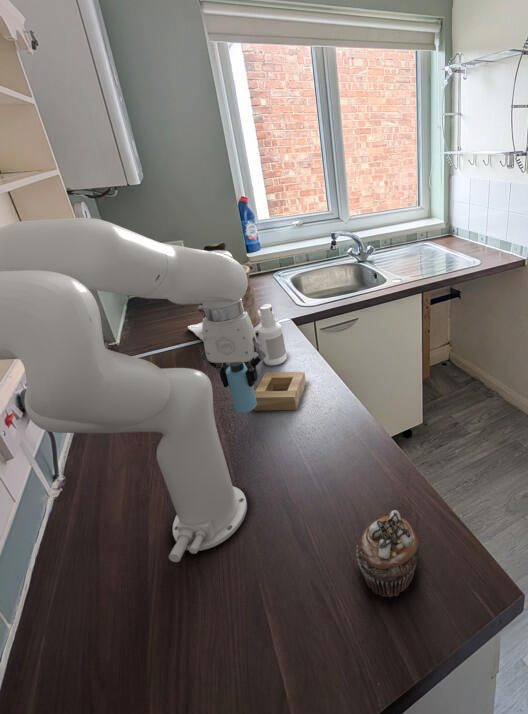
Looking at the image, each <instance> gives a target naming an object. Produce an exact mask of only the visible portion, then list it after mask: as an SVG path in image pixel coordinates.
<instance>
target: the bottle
mask: <svg viewBox="0 0 528 714" xmlns="http://www.w3.org/2000/svg"><path fill="white" fill-rule="evenodd" d="M229 366H230V367H228V368H227V369H226V376H227V380H228V384H229V385H228V388H229V393H230V398H231V401H232V405H233V406H232V407H233V409H234V411H235V412H236V413H237V414H238V413H239V414H245V413H248V412H249V413H250V412H251V411H253V410H254V408H255V407H256V405H257V401H256V396H255V388H254V385H253V386H252V387H250V386H249V385H248V380H247V375H246V371H247V370H248V369H247V367H246V365H245V364H244V362H233V363H229Z"/></svg>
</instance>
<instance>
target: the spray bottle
mask: <svg viewBox="0 0 528 714" xmlns="http://www.w3.org/2000/svg"><path fill="white" fill-rule="evenodd" d="M259 310H260V317H261V324H262V325H261V326H260V327H259V328H258V332H257V333H258V338H259V344H260V345H261V346H262V347H263V348H264V349H265V350H266V351H267V352H268V354H267V356H266V357H265V358H264V359H263V362H264V364H266V365H267V366H277V365H280V364H283V363H285V361H286V360H287V358H288V356H287V355H288V354H287V349H286V344H285V339H284V338H285V337H284V333H283V326H282V324H281V323H279V322H276V321H275V318H276V317H275V312H274V310H273V306H272V304H271V303H265V304H263V305H261V306H260V307H259Z"/></svg>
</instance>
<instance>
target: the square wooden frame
mask: <svg viewBox="0 0 528 714" xmlns="http://www.w3.org/2000/svg"><path fill="white" fill-rule="evenodd" d="M305 373H306V372H305V371H278V372H277V371H276V372H275V371H274V372H273V371H272V372H265V373H264V374H263V376H262V378H261V379H260V382H259V383H258V386H257V387H256V389H255V390H254V392H255V396H256V401H257V405H256V407H255V408H254V409H253V410H254V411H255V412H257V411H297V410H298V407H299V405H300V401H301V399H302V396H303V394H304V391H305V388H306V385H307V380H306V374H305Z"/></svg>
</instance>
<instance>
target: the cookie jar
mask: <svg viewBox="0 0 528 714" xmlns="http://www.w3.org/2000/svg"><path fill="white" fill-rule="evenodd" d="M226 247H227V244H226V243H225V242H224V241H221V242H219V243H217V244H216V243H214V244H206V245H205V246H204V247H203V250H204V251H215V250H223V251H227V249H226ZM240 265H241V266H242V267H243V268H244V270H245V272H246V275H247V280H248V286H247V290H246V293H245V294H244V296H243V297H242V298H241V299H242V304H243V309H244V311H245V312H247V313H248V315H249V318H250V320H251V322H252V325H253V328H254V331H255V334H257V333H258V328H259V327H260V326H261V325H262V324H261V317H260V309H259V304H258V298H257V295H256V292H255V290H254V286H253V283H252V280H251V279H250V274H251V268H250V267H249V266H248V265H244V264H240ZM202 305H203V304H199V306H202ZM203 318H205V315H204V314H203ZM275 321H276V322H277V323H279V318H277V317H275ZM187 329H188V330H189V331H191V332H192V333H193V334H194V335H195V336H196V337H198V338H199V339H200V340H201V341H203V330H202V322H199V323H196V324H190V325H188V326H187Z"/></svg>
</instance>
